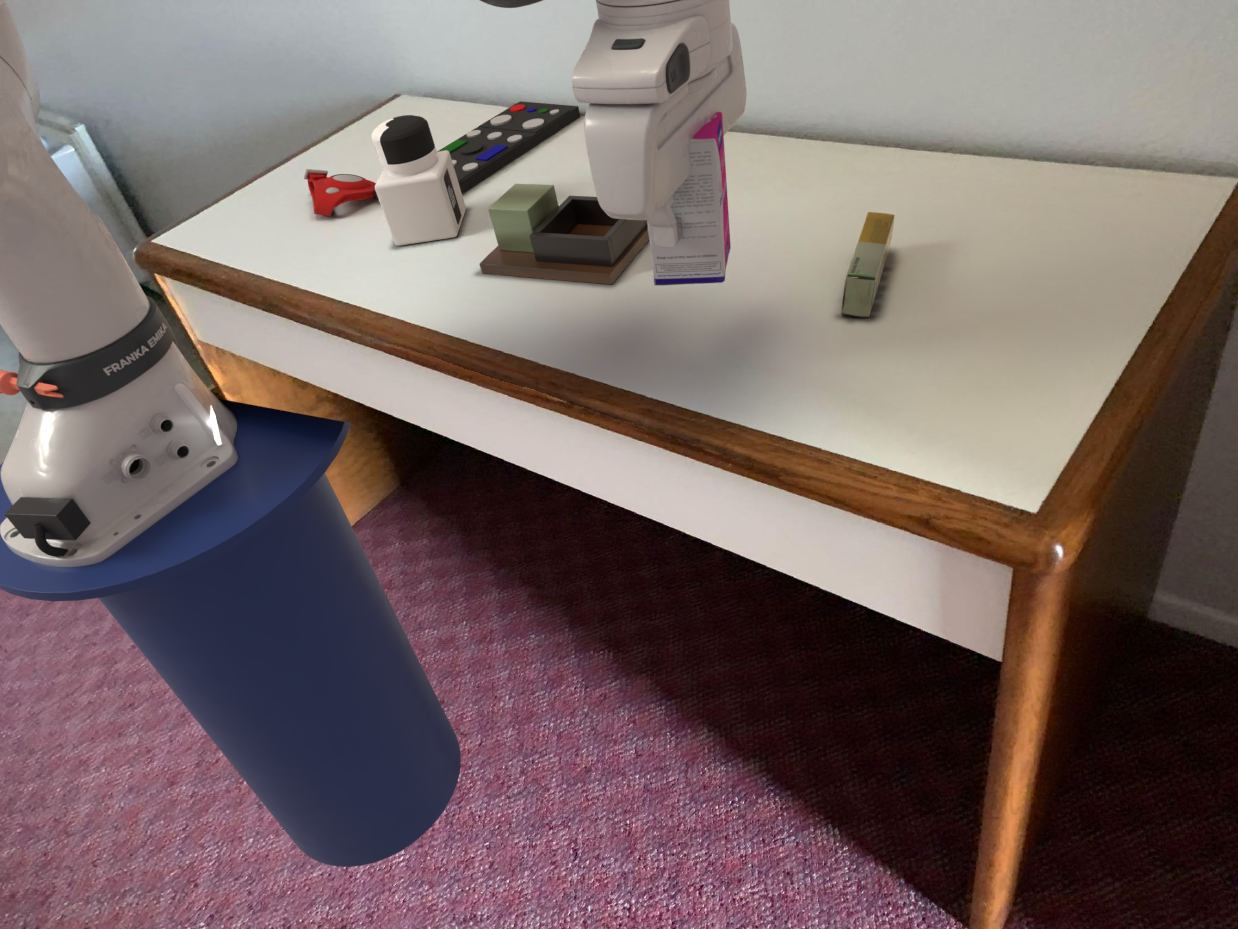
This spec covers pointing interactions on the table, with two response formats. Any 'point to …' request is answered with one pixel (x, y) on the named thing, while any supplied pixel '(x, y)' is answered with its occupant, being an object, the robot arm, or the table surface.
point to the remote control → (505, 139)
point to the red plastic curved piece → (336, 189)
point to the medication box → (867, 265)
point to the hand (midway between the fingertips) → (688, 219)
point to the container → (416, 182)
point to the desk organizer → (560, 237)
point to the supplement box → (699, 216)
